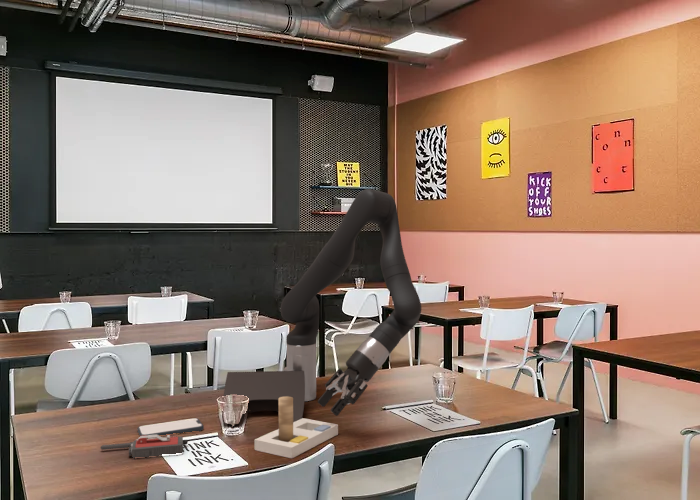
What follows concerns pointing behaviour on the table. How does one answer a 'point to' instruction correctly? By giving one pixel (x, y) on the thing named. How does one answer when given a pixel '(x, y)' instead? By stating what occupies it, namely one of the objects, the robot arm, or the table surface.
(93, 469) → the table surface
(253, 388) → the portable electronic device stand
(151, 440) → the walkie-talkie
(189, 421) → the phone case
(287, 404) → the dowel
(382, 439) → the table surface
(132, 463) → the table surface
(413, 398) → the table surface
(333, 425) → the socket plate
